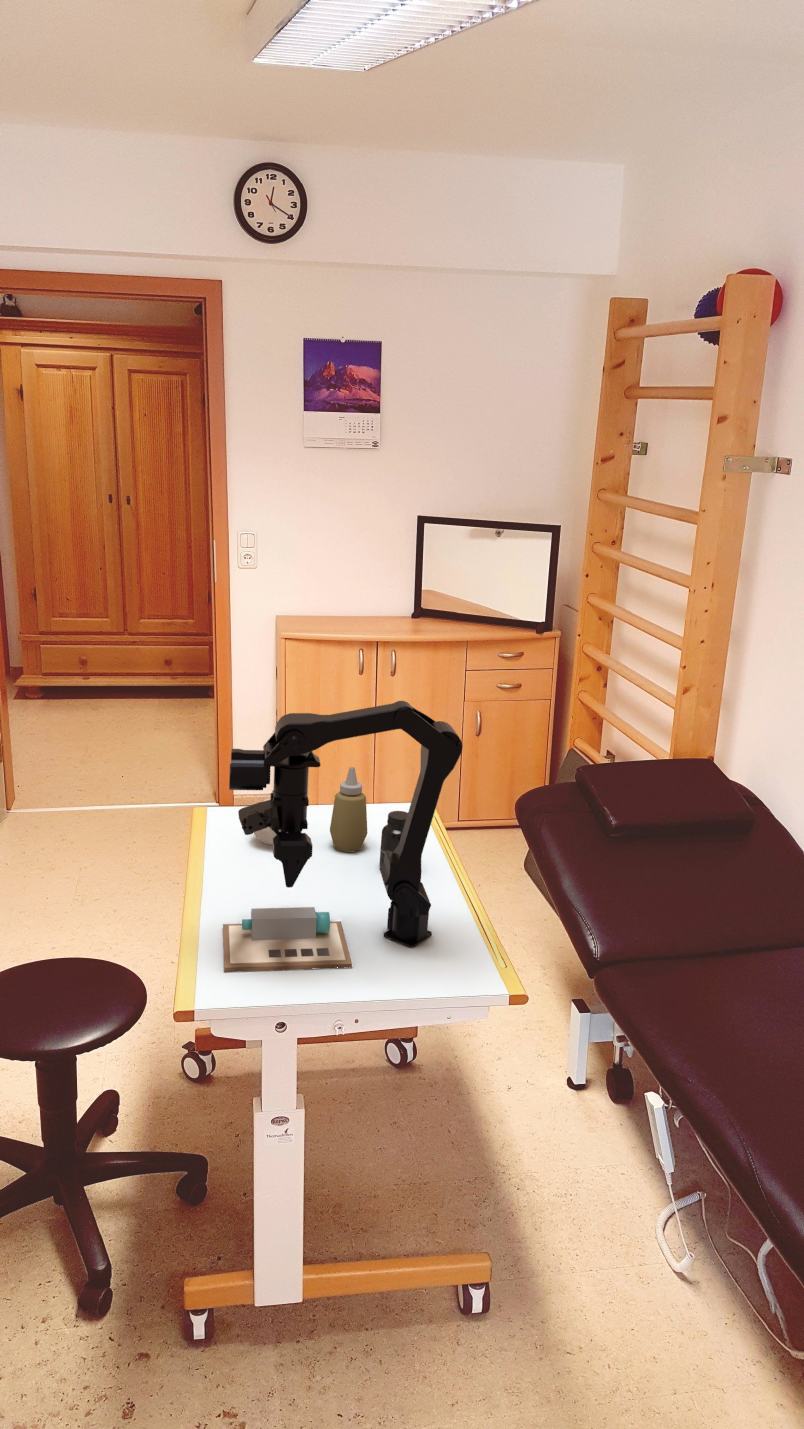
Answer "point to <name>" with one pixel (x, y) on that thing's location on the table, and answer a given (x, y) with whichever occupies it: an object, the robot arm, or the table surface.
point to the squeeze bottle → (349, 815)
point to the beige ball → (266, 833)
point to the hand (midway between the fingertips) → (287, 875)
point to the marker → (286, 923)
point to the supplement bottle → (392, 832)
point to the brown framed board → (284, 951)
